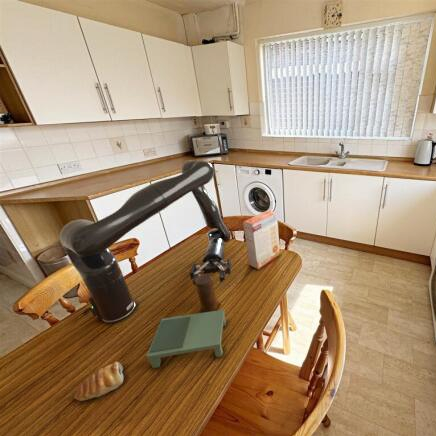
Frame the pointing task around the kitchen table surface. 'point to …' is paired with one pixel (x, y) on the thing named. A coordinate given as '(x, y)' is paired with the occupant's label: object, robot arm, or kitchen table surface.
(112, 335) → the kitchen table surface
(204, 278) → the pepper mill
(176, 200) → the robot arm
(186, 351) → the stand
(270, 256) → the cracker box
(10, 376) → the kitchen table surface
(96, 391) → the pastry
